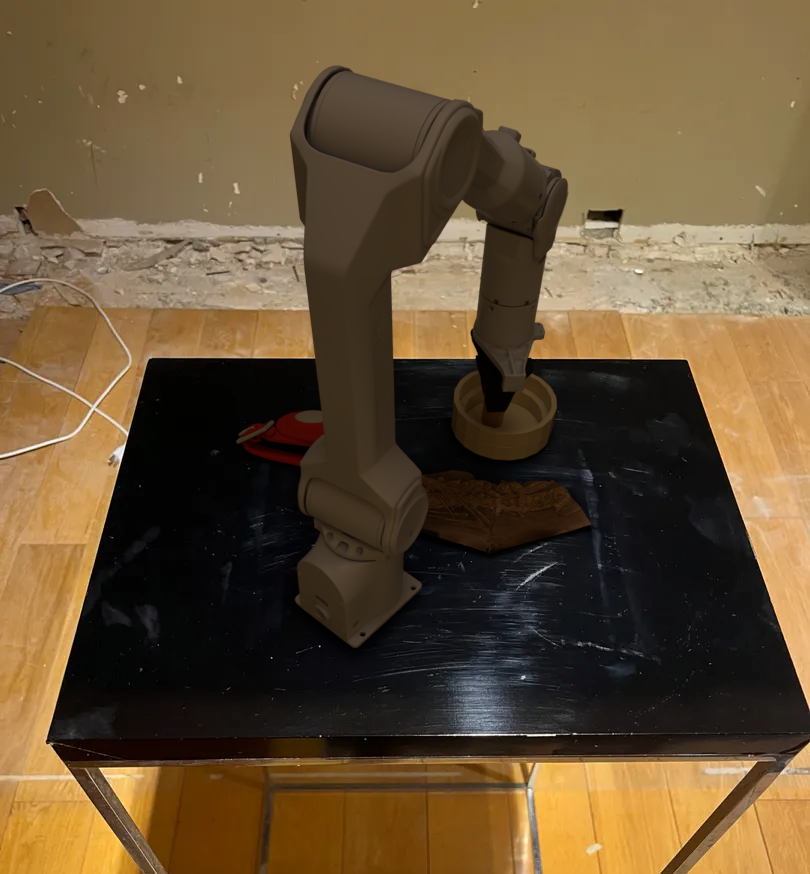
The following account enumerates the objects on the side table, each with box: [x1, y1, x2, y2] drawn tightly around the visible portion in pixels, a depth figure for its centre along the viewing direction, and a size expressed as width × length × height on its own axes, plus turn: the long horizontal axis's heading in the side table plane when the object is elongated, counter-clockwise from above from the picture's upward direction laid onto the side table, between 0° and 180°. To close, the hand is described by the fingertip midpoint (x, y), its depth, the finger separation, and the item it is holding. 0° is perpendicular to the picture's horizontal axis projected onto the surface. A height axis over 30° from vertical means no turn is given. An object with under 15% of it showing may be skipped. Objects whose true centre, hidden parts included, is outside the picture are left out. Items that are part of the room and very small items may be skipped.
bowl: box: [450, 369, 558, 461], centre depth 92 cm, size 11×11×4 cm
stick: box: [481, 400, 505, 428], centre depth 87 cm, size 2×2×9 cm
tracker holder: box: [235, 409, 324, 467], centre depth 89 cm, size 12×4×10 cm
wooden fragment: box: [419, 469, 594, 555], centre depth 84 cm, size 26×11×1 cm, turn 84°
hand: (494, 401), depth 88 cm, fingers closed on stick, 2 cm apart
